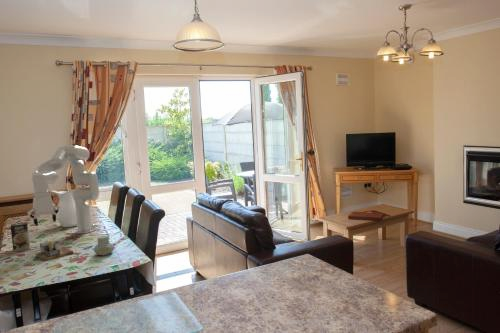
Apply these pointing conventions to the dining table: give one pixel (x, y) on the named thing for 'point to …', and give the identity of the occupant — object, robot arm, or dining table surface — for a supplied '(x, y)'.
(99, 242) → the air freshener
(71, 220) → the pitcher
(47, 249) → the open ended gray sleeve
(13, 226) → the coffee box
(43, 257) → the board
